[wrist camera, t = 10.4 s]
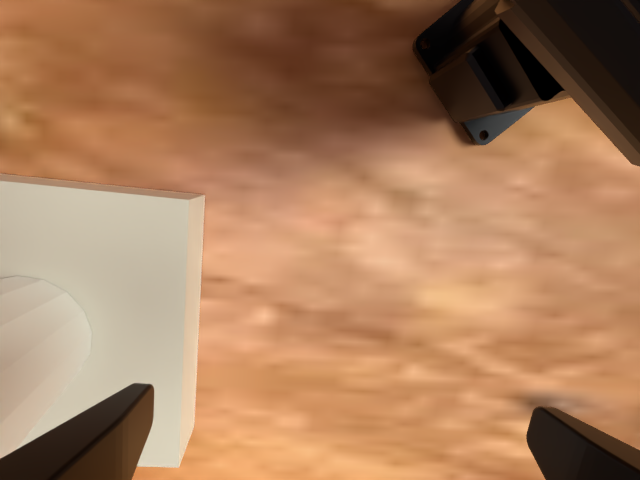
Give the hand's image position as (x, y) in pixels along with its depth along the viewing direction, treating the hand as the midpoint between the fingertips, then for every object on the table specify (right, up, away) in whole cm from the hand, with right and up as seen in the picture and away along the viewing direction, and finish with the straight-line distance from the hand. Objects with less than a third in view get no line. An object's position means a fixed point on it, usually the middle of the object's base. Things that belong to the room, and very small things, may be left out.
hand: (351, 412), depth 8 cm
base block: (-15, 0, +11) cm, 18 cm away
